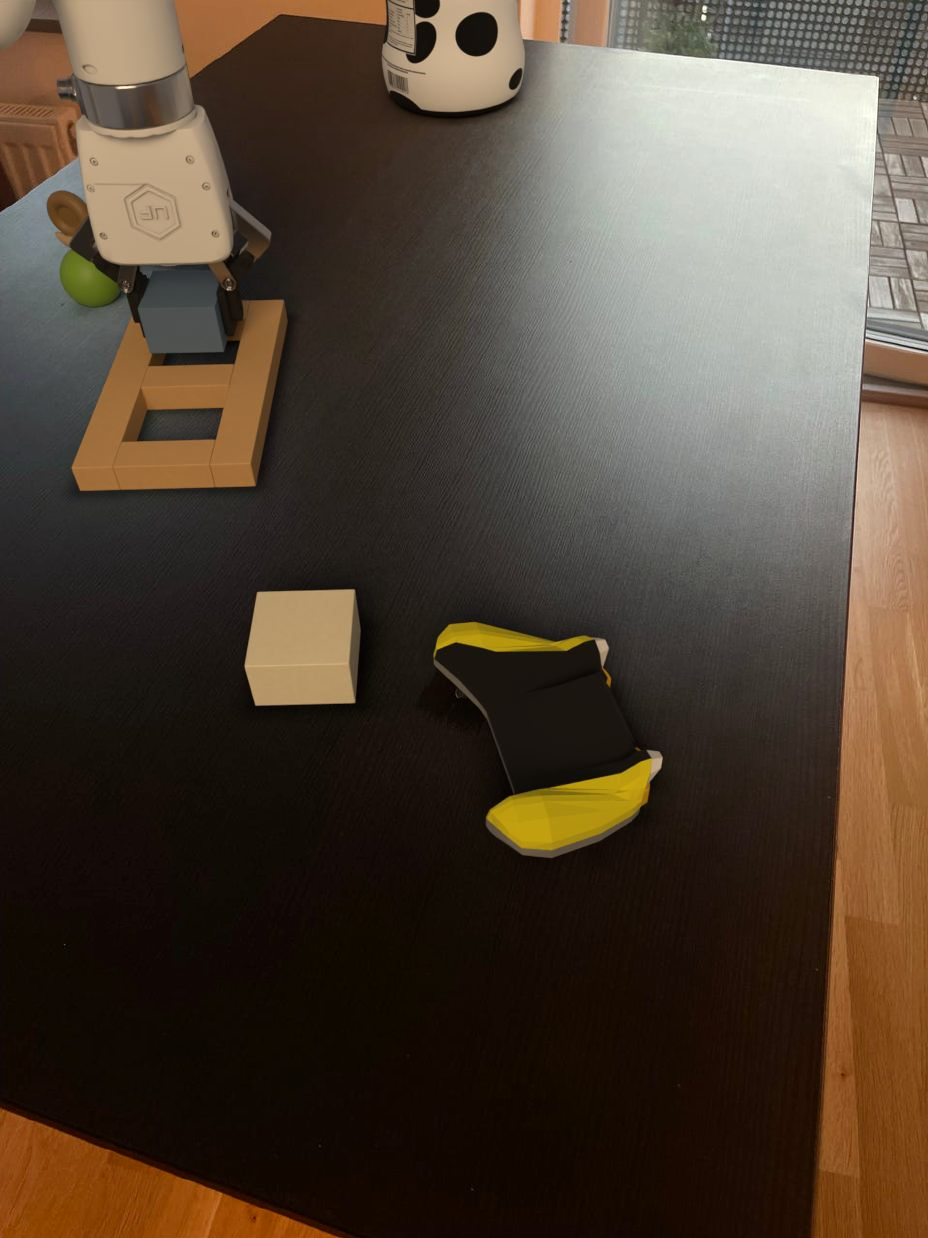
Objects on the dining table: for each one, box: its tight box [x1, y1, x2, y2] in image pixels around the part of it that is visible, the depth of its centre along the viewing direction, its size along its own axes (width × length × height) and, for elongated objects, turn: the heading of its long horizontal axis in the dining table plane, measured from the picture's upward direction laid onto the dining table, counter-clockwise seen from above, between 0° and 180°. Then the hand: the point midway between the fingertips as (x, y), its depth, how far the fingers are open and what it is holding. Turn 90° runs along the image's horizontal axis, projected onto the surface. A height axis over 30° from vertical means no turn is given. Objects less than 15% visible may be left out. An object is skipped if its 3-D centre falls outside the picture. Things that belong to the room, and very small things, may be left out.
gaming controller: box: [433, 621, 664, 859], centre depth 55 cm, size 15×6×10 cm
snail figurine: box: [46, 189, 122, 308], centre depth 88 cm, size 5×6×12 cm
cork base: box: [71, 299, 288, 492], centre depth 81 cm, size 13×23×2 cm, turn 1°
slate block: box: [138, 269, 228, 354], centre depth 81 cm, size 6×6×4 cm
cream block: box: [244, 588, 361, 707], centre depth 60 cm, size 6×6×4 cm
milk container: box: [381, 0, 526, 118], centre depth 118 cm, size 17×17×18 cm
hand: (191, 326), depth 82 cm, fingers closed on slate block, 6 cm apart
